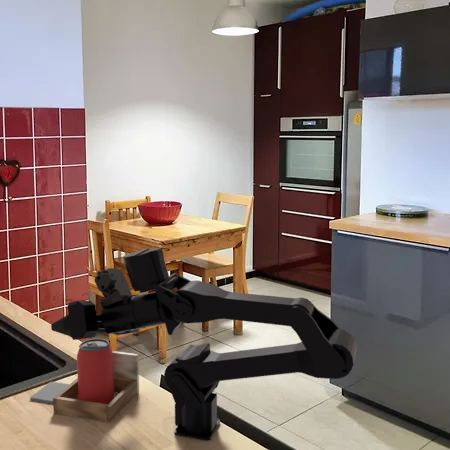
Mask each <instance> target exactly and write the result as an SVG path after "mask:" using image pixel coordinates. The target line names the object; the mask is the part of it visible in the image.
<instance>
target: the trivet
mask: <svg viewBox="0 0 450 450" xmlns="http://www.w3.org/2000/svg"><path fill="white" fill-rule="evenodd" d="M69 384H70V383H69ZM69 384H68V383H62V382H57V381H50V382H48V383H47V384H46V385H44V386H42V388H40V389H39V390H38V391H37V392H35V393H34V394H32V396H30V398H29V399H30V400H31V401H36V402H41V403H47V404H53V398H54V397H55V396H56V395H57V394H59V393H60V392H61V391H62V390H63V389H65V388H66V387H67V386H68V385H69Z"/></svg>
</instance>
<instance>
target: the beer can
mask: <svg viewBox="0 0 450 450" xmlns="http://www.w3.org/2000/svg"><path fill="white" fill-rule="evenodd" d="M78 347H79V348H78V351H77V354H76V367H77V368H76V369H77V378H78V392H79V395H78V400H83V401H89V402H96V403H102V404H109V403H110V402H111V401H112V400H113V399H114V398H115V393H114V373H113V353H112V351H113V350H112V348H111V346H110V342H109V340H107V339H104V338H88V339H86V340H84V341H82V342H81V343H79V345H78Z"/></svg>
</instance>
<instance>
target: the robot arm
mask: <svg viewBox="0 0 450 450" xmlns="http://www.w3.org/2000/svg"><path fill="white" fill-rule="evenodd" d="M122 260H123V262H124V266H125V269H126V272H127V275H128V278H129V279H128V280H129V282H130V285H131V287H130V285H129V283H128V281H127V279H126V277H125V275H124V273H123V270H121V269H120V268H112V267H108V268H105V269H104V270H99V271H97V272H96V273H97V274H96V276H95V277H94V283H95V285H96V287H97V290H98V291H99V292H100V293H101V294H102V296H103V297H104V299H100V306H101V307H102V308H101V309H100V310H101V312H100V314H97V308H96V304H95V303H93V302H92V301H91V300H75V301H71V302H69V303H68V304H67V314H66V315H65V316H63V317H61V318H59V319H58V320H56V321H54V322H53V323H51V324H50V327H51V331H53V332H56V333H58V334H62V335H65V336H68V337H70V338H71V339H72V340H73V341H74V340H75V341H77V340H84V339H86V340H87V339H93V338H95V337H96V336H97V334H98V332H101V333H105V334H106V335H111V334H112V335H116V336H120V335H130V334H136V333H139V332H140V331H141V330H143V329H146V328H149V327H155V326H160V325H165V328H166V331H167V335H168V336H172V335H173V334H174V333H176V332H177V331H178V330H179V329H180V327H181V324H182V323H183V324H199V323H207V322H212V321H216V320H230V321H231V320H232V321H240V322H248V323H249V322H250V323H258V324H259V323H260V324H267V325H274V326H285V327H290V328H291V329H292V330H293V331H294V332H295V333H296V335H297V336H298V337H299V339H300V341H301V342H297V343H291V344H284V345H275V346H268V347H261V348H253V349H244V350H243V349H242V350H236V351H228V352H226V351H225V352H218V351H217V352H216V351H214V350H211V346H210V343H209V342H206V343H202V344H199V345H194V344H190V343H189V345H188V346H187V347H185V349H183V350H182V351H181V352H180V353H179V354H178V355H176V357H175V358H174V359H173V360H172V361H171V362H170V363H169V364H168V365H167V367H166V368H165V369H164V374H163V377H164V382H165V384H166V386H167V387H168V388H169V390H170V393H171V395H172V399H173V401H174V424H175V429H174V431H173V434H174V435H176V436H181V437H187V438H193V439H200V440H205V441H209V440H211V438H212V437H213V435H214V433H215V432H216V430H217V428H218V427H219V425H220V422H221V419H219V418H218V394H217V393H214V392H215V390H216V389H217V388H218V386H219V384H220V382H222V381H231V380H232V381H233V380H242V379H249V378H250V379H252V378H260V377H269V376H279V375H288V374H296V373H298V374H304V375H305V376H306V375H307V376H310V377H312V378H316V379H325V380H326V379H328V380H340V379H343V378H345V377H347V376H348V375H349V374H350V373H351V372H352V369H353V367H354V363H355V359H356V355H357V350H358V348H357V347H358V344H357V342H356V339H355V337H353V335H352V334H351V333H350V332H348V331H347V330H346V329H342V328H340V327H339V326H338V325H337V324H336V323H335V321H334V320H333V319H331V318H330V317H329V316H327V315H326V314H325V313H324V312H322V311H321V310H319V309H318V308H317V307H316V306H315V305H314V304H313V303H312V301H310V300H309V299H308V298H305V297H286V296H285V297H284V296H274V295H263V294H256V293H255V294H253V293H246V292H245V293H243V292H233V291H228V290H225V289H223V288H221V287H220V286H217V285H216V284H212V283H209V282H205V281H200V280H190V279H188V278H186V277H185V276H183V275H182V276H181V275H179V274H178V273H175V272H174V273H172V274H171V275H169V271H168V268H167V265H166V261H165V256H164V251H163V248H162V247H158V248H155V247H153V248H150V247H147V248H144V249H141V250H136V251H134V252H131V253H128V254H126V255H123V257H122ZM131 288H132V289H133V291H134V292H139V293H142V294H132V290H131ZM175 289H176V291H174V290H175ZM151 291H152V292H151Z"/></svg>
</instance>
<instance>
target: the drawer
mask: <svg viewBox="0 0 450 450" xmlns="http://www.w3.org/2000/svg"><path fill="white" fill-rule="evenodd" d="M112 353H113V373H114V394H117V395H116V396H114V399H113V400H112V401H111V402H110V403H109V404H102V403H96V402H89V401H83V400H79V399H76V398H77V397H79V392H78V377H76V379H74V380H73V381H72V382H71V383H69V385H68V386H67V387H66V388H65V389H63V390H62V391H61V392H60V393H59V394H57V395H56V396H55V397H54V398H53V403H52V406H53V409H52V410H53V414H57V415H63V416H67V417H68V416H69V417H75V418H80V419H86V420H92V421H98V422H105V423H109V424H110V423H112V422H113V421H114V420H115V418H116V417H118V416H119V415H120V413H121V412H123V410H124V409H125V408H126V407H127V406H128V405H129V404H130V403H131V402H132V401H133V399H134V398H136V396H137V395H138V394H139V393H140V376H139V375H140V374H139V370H140V369H139V368H140V367H139V353H137V354H136V353H131V352H130V353H129V352H125V351H117V350H116V351H115V350H112Z"/></svg>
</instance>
